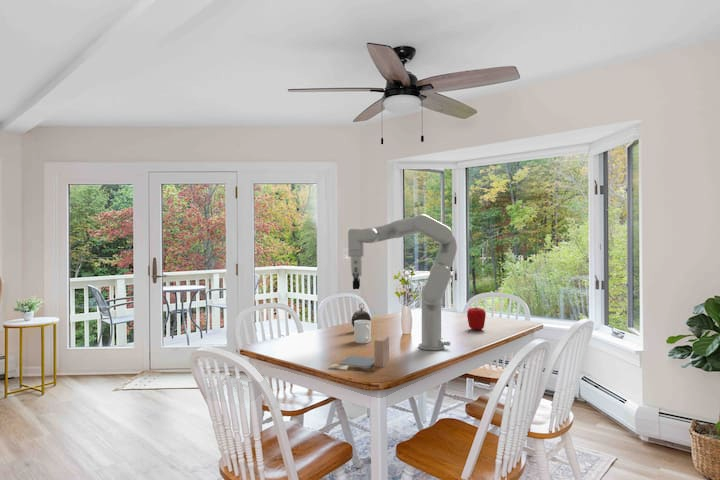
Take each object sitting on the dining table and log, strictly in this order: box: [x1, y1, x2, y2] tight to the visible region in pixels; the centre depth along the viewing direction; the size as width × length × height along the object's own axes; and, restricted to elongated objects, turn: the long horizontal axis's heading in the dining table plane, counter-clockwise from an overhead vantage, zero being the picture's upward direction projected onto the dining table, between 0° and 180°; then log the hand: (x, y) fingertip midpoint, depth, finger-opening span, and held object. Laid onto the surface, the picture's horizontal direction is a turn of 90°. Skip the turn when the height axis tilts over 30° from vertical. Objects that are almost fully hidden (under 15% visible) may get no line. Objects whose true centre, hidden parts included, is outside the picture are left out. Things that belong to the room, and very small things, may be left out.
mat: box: [338, 355, 374, 367], centre depth 199 cm, size 14×14×1 cm
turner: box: [328, 363, 373, 372], centre depth 189 cm, size 18×5×1 cm, turn 71°
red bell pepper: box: [466, 306, 487, 331], centre depth 266 cm, size 11×10×14 cm
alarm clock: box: [351, 303, 372, 328], centre depth 263 cm, size 11×5×16 cm, turn 121°
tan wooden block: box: [373, 335, 390, 368], centre depth 196 cm, size 4×9×11 cm, turn 161°
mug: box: [353, 320, 372, 345], centre depth 236 cm, size 9×12×11 cm
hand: (356, 287), depth 228 cm, fingers open, 9 cm apart
